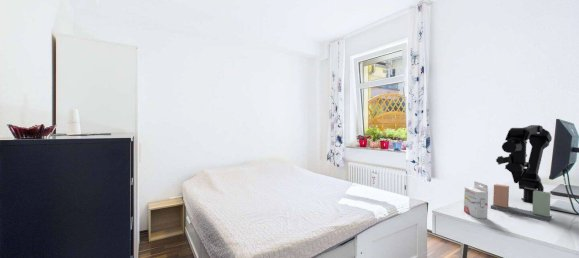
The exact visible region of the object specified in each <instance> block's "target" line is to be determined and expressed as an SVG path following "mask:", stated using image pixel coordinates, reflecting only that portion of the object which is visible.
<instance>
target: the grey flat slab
mask: <svg viewBox="0 0 579 258" xmlns="http://www.w3.org/2000/svg"><path fill="white" fill-rule="evenodd" d="M490 209H493V210H497V211H501V212H504V213H505V212H506V213H511V214H514V215H518V216H523V217H527V218H531V219H537V220H541V221H545V222H550V221H551V220H552V219H551V218H553V217H552V215H549V217H547V216H542V215H538V214H533V213H532V210H527V209H522V208H517V207H514V206H509V205H508V207H507V208H506V207H501V206H497V205H493V204H491V205H490Z"/></svg>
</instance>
